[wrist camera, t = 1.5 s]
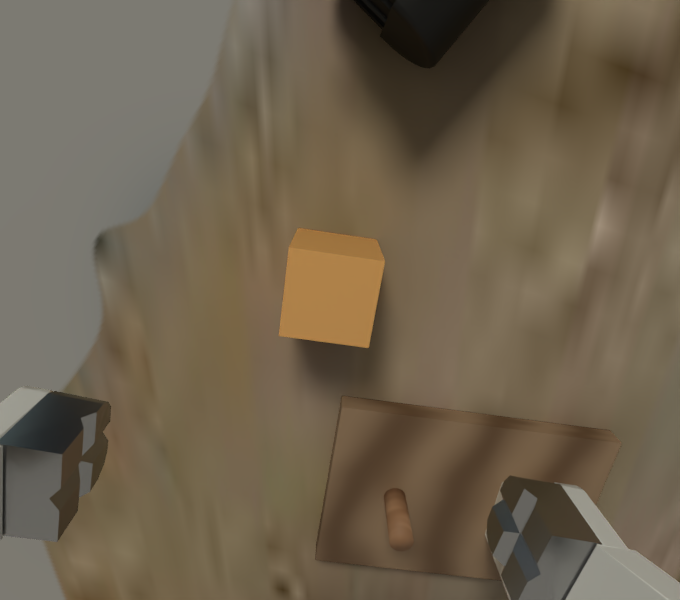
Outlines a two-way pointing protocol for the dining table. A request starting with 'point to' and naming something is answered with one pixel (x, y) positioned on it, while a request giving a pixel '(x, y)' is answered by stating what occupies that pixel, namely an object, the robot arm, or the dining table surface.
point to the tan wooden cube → (331, 288)
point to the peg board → (440, 482)
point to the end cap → (422, 25)
